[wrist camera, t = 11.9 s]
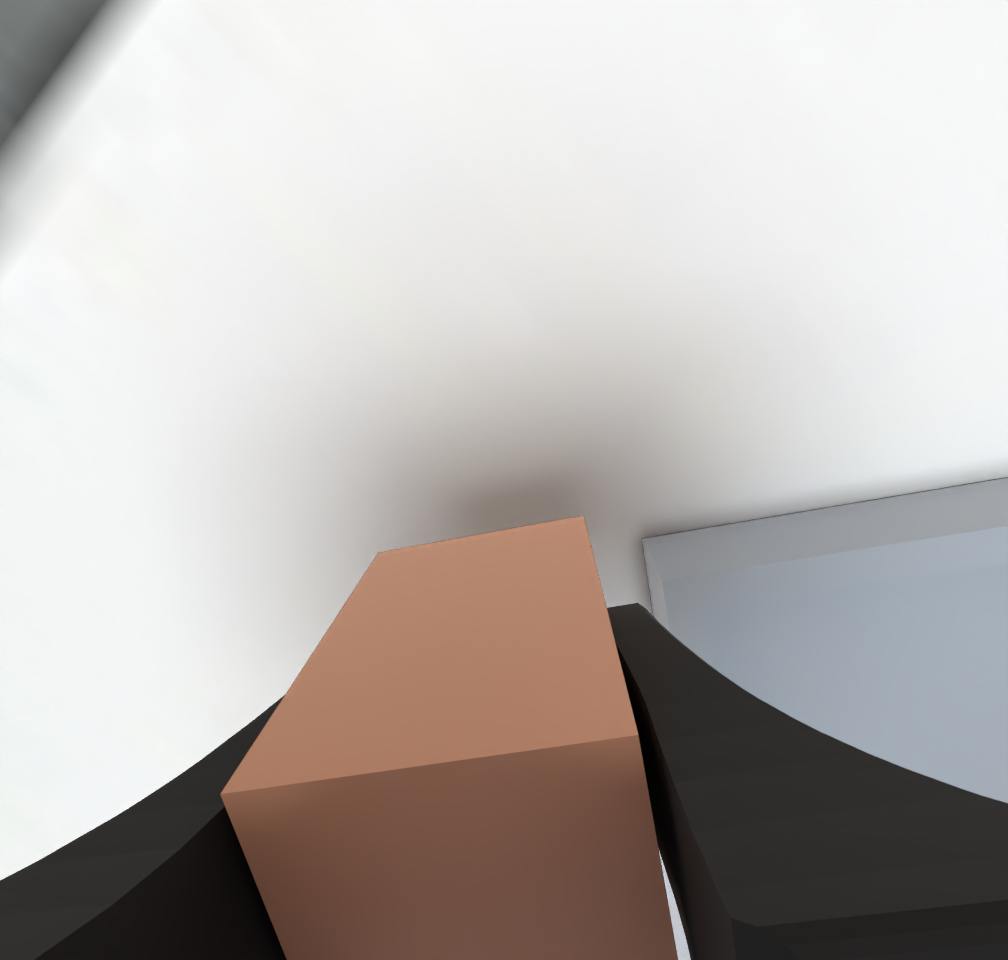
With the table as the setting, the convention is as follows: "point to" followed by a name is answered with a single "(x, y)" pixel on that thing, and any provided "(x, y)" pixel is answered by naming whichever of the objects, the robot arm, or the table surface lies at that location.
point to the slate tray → (861, 622)
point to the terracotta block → (459, 768)
